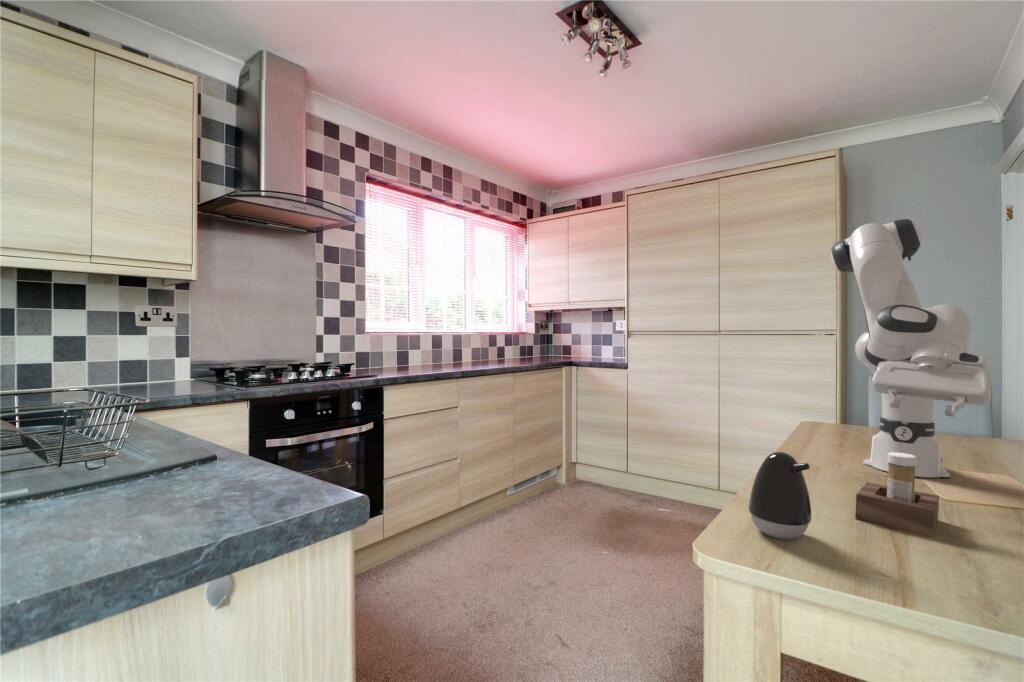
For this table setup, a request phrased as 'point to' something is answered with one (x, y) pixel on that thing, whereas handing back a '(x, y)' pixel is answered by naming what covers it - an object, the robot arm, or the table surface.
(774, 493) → the pump dispenser
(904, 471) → the sprinkles bottle
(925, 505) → the spice caddy
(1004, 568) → the table surface
